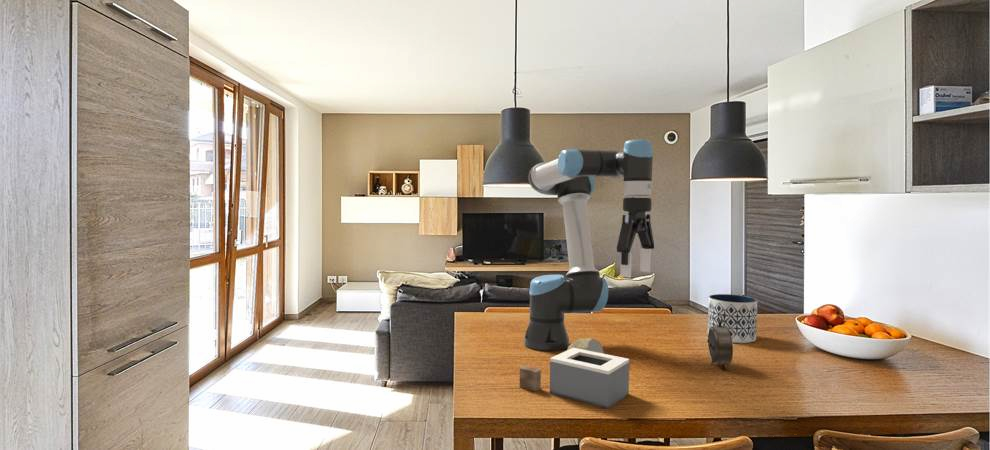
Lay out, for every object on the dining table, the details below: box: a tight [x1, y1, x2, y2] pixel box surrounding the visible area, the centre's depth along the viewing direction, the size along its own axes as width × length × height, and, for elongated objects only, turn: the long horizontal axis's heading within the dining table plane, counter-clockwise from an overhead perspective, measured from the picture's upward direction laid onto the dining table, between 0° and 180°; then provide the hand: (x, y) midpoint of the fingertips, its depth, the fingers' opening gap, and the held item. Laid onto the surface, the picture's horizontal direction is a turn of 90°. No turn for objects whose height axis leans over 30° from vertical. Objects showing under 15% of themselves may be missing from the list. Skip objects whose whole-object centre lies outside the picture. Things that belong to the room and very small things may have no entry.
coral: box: [566, 337, 605, 354], centre depth 149 cm, size 10×10×10 cm
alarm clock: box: [706, 312, 734, 372], centre depth 153 cm, size 11×5×16 cm, turn 170°
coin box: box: [549, 348, 630, 410], centre depth 130 cm, size 16×12×9 cm
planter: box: [707, 293, 758, 344], centre depth 185 cm, size 16×16×14 cm
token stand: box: [519, 365, 542, 392], centre depth 134 cm, size 5×2×5 cm, turn 52°
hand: (635, 274), depth 142 cm, fingers open, 13 cm apart
